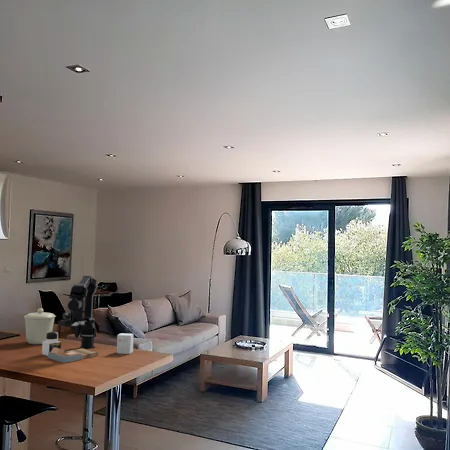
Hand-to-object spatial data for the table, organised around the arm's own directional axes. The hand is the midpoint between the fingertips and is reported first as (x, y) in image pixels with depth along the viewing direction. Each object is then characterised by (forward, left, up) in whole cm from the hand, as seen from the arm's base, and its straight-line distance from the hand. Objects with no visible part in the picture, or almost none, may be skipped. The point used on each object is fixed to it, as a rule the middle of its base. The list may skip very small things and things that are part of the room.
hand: (76, 337), depth 233 cm
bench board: (-6, -3, -11) cm, 13 cm away
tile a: (+5, -7, -7) cm, 11 cm away
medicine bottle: (+3, -17, -11) cm, 21 cm away
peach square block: (+3, +1, -11) cm, 11 cm away
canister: (-9, -49, -11) cm, 51 cm away
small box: (-27, +9, -11) cm, 30 cm away
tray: (+4, -3, -11) cm, 12 cm away
